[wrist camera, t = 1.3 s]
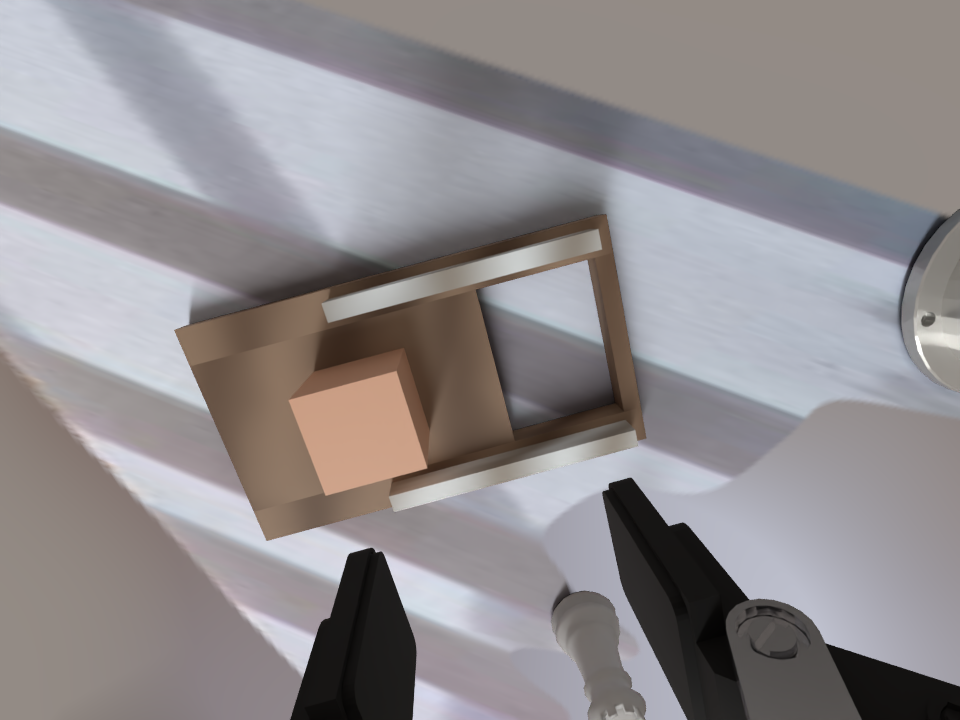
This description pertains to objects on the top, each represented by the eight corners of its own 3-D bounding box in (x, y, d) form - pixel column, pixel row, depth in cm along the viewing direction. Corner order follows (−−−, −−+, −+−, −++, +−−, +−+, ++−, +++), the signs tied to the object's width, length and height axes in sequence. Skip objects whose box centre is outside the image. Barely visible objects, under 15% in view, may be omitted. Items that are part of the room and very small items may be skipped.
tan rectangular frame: (597, 215, 27) (616, 213, 24) (636, 428, 30) (657, 449, 27) (188, 324, 27) (157, 336, 24) (275, 525, 30) (257, 557, 27)
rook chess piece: (561, 649, 34) (595, 771, 27) (540, 600, 33) (570, 713, 25) (621, 627, 34) (673, 743, 26) (603, 577, 33) (652, 683, 25)
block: (403, 347, 26) (396, 371, 22) (429, 430, 28) (427, 468, 23) (313, 371, 26) (288, 400, 22) (343, 453, 28) (325, 495, 23)
